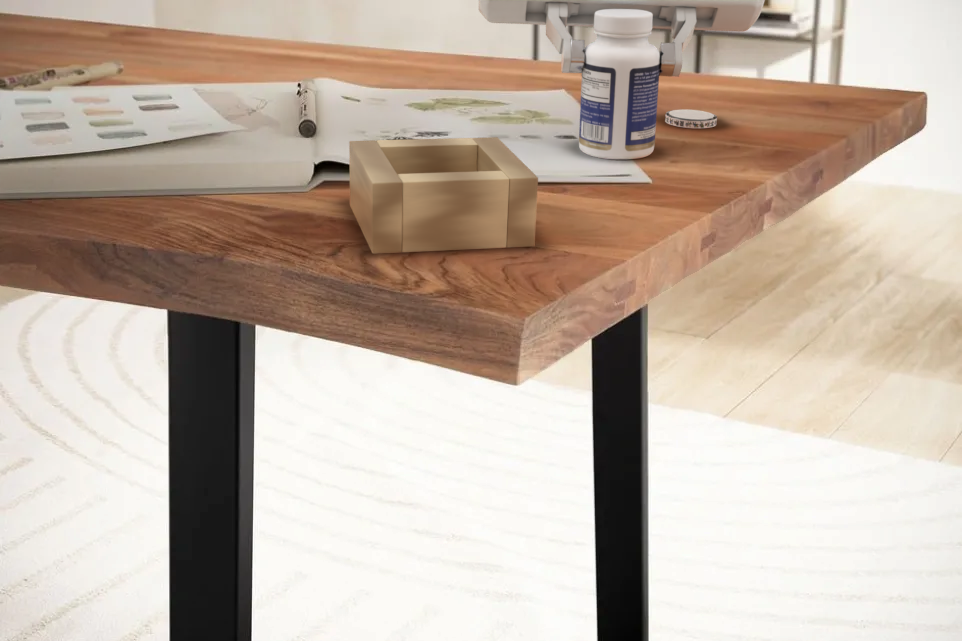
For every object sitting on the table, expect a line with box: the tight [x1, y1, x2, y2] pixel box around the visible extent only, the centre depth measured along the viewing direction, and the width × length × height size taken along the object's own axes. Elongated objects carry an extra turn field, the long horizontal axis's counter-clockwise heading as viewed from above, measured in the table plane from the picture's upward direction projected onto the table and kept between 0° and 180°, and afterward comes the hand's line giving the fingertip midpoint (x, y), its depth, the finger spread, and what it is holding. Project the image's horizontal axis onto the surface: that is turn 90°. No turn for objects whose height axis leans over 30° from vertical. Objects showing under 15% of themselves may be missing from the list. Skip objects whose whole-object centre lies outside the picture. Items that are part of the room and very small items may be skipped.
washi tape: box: [664, 108, 718, 129], centre depth 97 cm, size 4×4×1 cm
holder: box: [348, 136, 539, 254], centre depth 70 cm, size 9×9×4 cm
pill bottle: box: [578, 9, 660, 160], centre depth 86 cm, size 5×5×10 cm
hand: (622, 70), depth 85 cm, fingers closed on pill bottle, 5 cm apart
